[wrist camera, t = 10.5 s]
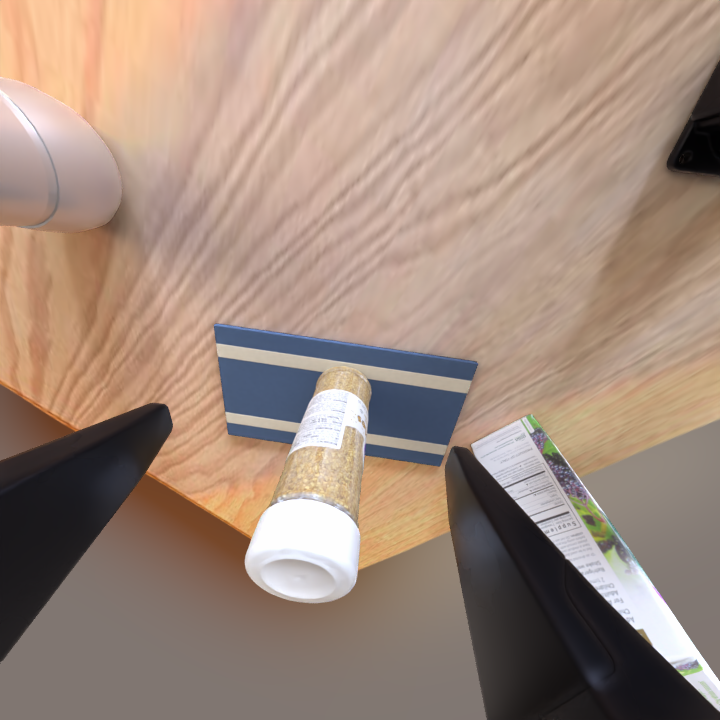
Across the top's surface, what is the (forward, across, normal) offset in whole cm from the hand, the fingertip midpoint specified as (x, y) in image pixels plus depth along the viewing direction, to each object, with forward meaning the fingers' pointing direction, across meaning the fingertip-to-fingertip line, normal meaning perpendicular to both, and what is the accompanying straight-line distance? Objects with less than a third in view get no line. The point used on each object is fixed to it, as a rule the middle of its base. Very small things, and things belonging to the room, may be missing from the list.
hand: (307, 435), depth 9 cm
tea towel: (+13, 0, +8) cm, 15 cm away
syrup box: (+13, -15, +11) cm, 23 cm away
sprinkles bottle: (+12, 0, +6) cm, 14 cm away
